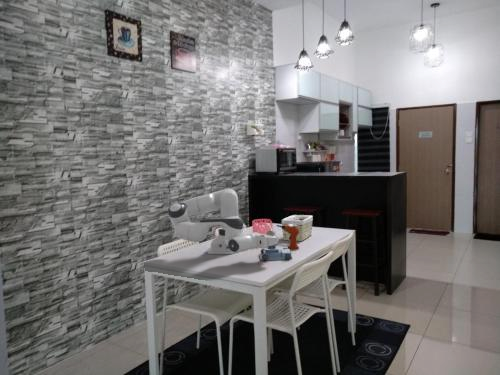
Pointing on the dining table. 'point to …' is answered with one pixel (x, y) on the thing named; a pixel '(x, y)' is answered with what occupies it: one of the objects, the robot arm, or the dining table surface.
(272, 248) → the motor
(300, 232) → the storage basket
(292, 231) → the toy drill
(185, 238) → the robot arm
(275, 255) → the chassis
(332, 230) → the dining table surface
